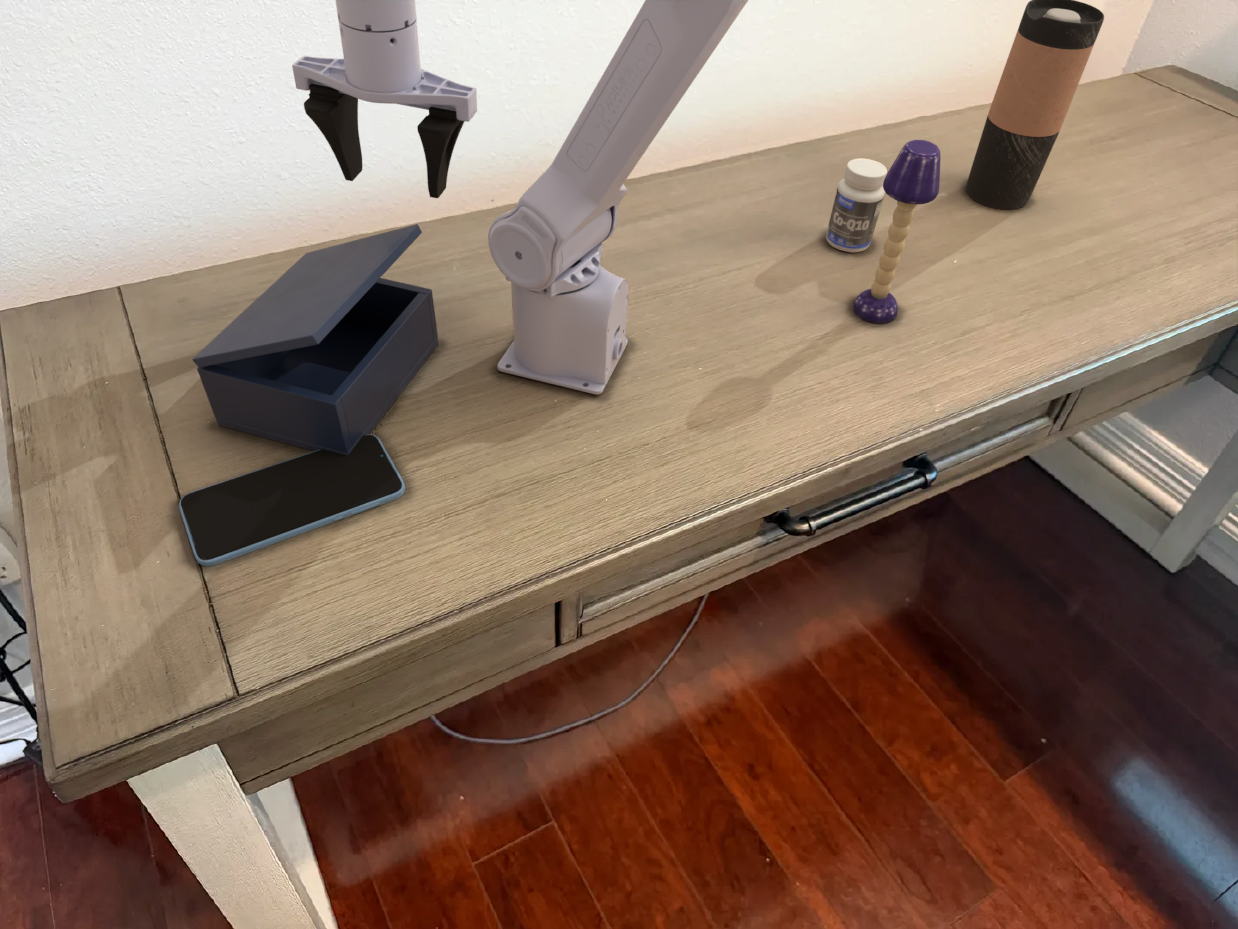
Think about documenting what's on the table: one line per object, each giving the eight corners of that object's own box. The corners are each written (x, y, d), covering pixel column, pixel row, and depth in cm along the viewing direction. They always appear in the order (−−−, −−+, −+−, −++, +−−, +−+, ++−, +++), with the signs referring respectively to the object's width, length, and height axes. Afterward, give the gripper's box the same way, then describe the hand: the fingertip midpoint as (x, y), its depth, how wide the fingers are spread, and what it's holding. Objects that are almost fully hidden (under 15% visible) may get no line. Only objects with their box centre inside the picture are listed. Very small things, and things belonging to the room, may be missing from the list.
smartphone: (174, 495, 64) (374, 428, 70) (178, 503, 65) (376, 436, 71) (197, 566, 60) (408, 488, 66) (201, 574, 61) (410, 496, 66)
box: (439, 344, 79) (432, 289, 75) (349, 461, 68) (335, 404, 64) (322, 316, 81) (309, 261, 77) (217, 425, 70) (196, 368, 66)
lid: (422, 232, 71) (417, 223, 71) (318, 344, 60) (311, 335, 60) (311, 260, 77) (306, 252, 76) (198, 367, 66) (191, 359, 66)
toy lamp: (904, 327, 84) (959, 159, 72) (855, 327, 83) (903, 158, 72) (890, 297, 87) (940, 132, 75) (843, 297, 87) (887, 131, 75)
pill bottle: (820, 246, 93) (838, 171, 87) (830, 225, 96) (848, 151, 90) (865, 257, 92) (886, 182, 86) (874, 236, 95) (895, 161, 89)
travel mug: (1038, 190, 104) (1113, 7, 90) (1021, 218, 99) (1097, 29, 85) (974, 171, 107) (1036, -9, 92) (954, 197, 102) (1017, 11, 88)
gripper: (488, 15, 69) (491, 177, 78) (311, -17, 70) (337, 146, 80) (455, 49, 64) (463, 217, 74) (266, 14, 65) (299, 184, 75)
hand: (395, 183), depth 76 cm, fingers open, 7 cm apart
